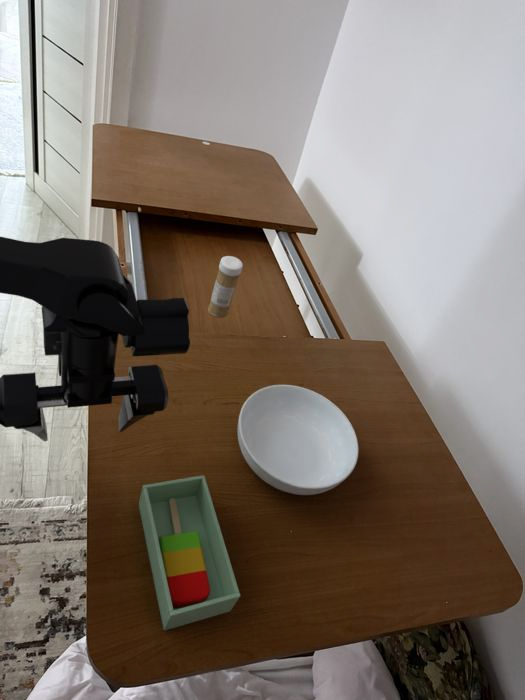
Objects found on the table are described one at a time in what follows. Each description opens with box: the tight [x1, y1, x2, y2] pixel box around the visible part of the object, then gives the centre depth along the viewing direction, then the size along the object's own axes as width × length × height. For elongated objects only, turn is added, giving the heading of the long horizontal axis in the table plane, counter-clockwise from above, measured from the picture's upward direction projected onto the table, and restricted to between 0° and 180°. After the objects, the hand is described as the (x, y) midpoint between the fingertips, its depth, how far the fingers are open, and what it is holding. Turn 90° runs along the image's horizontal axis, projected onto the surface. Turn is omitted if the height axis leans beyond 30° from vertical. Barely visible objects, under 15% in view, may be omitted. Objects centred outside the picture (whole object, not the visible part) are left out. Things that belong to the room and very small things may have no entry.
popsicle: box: [159, 498, 210, 608], centre depth 70 cm, size 6×15×2 cm, turn 17°
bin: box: [138, 474, 241, 632], centre depth 69 cm, size 18×9×6 cm, turn 20°
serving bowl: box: [237, 384, 359, 496], centre depth 86 cm, size 21×21×7 cm
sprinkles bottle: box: [207, 255, 244, 319], centre depth 105 cm, size 5×5×13 cm
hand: (83, 433), depth 66 cm, fingers open, 9 cm apart
